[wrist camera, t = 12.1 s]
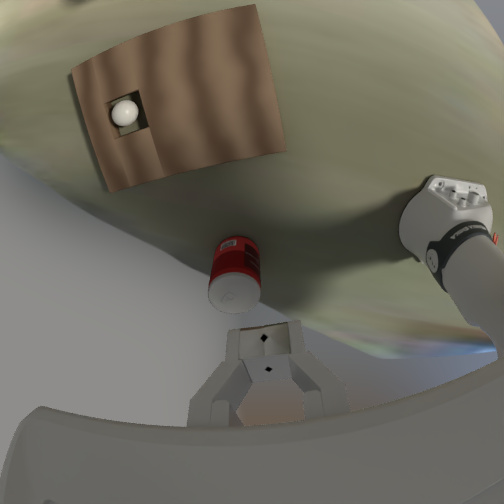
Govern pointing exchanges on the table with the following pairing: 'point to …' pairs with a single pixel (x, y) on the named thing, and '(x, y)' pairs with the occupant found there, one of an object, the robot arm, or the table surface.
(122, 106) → the ball
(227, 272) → the canned food
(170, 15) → the table surface
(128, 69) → the board
